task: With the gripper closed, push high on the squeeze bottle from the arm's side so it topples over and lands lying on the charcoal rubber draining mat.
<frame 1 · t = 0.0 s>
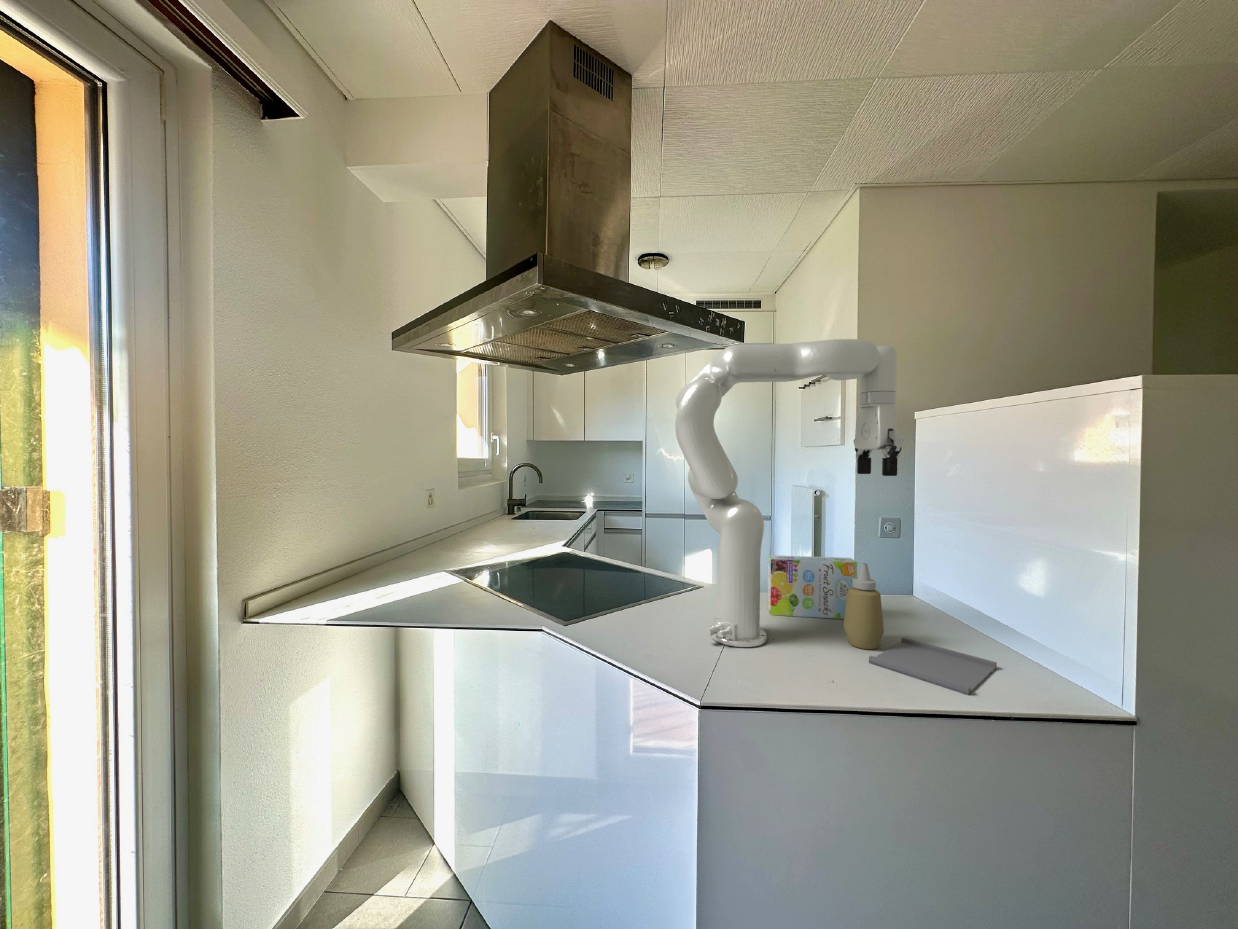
hand: (876, 474, 114), 37 cm above the countertop, tool pointing down, fingers open, 9 cm apart
snack box: (810, 615, 128), on the countertop
mat: (931, 665, 98), on the countertop
squeeze bottle: (862, 645, 108), on the countertop
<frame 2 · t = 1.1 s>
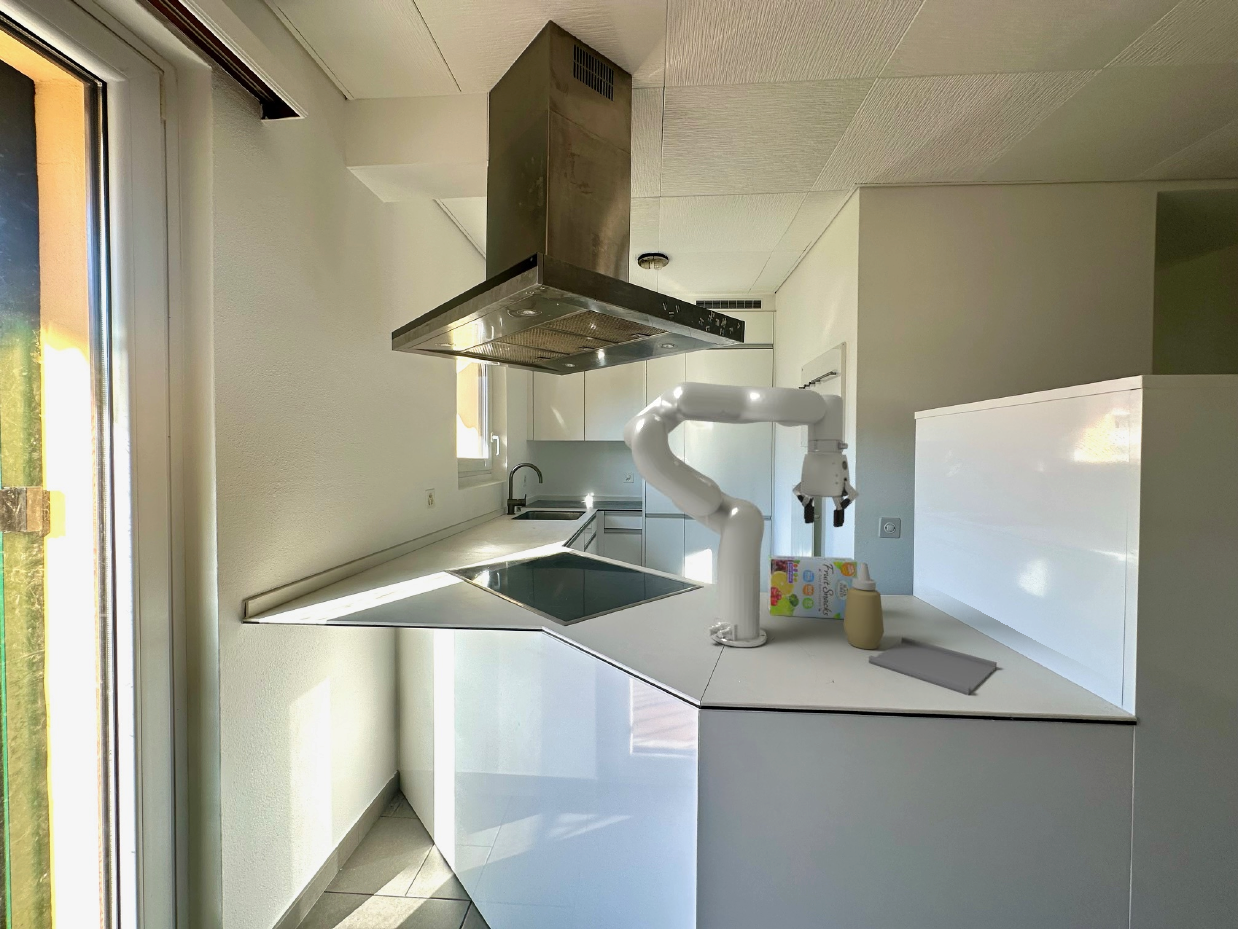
hand: (823, 524, 115), 26 cm above the countertop, tool pointing down, fingers open, 6 cm apart
nothing on the countertop moved.
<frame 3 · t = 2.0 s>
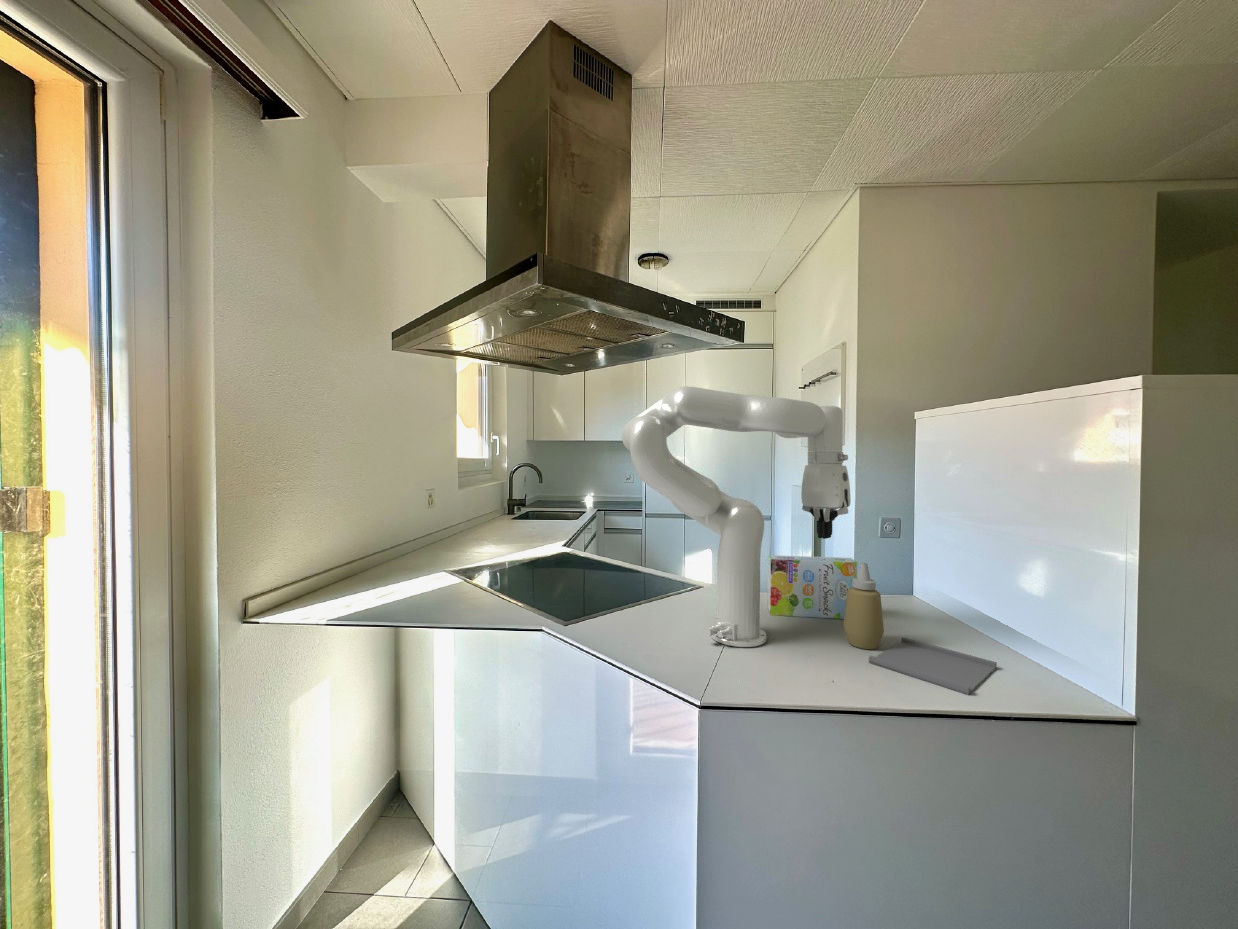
hand: (824, 537, 115), 22 cm above the countertop, tool pointing down, fingers closed
nothing on the countertop moved.
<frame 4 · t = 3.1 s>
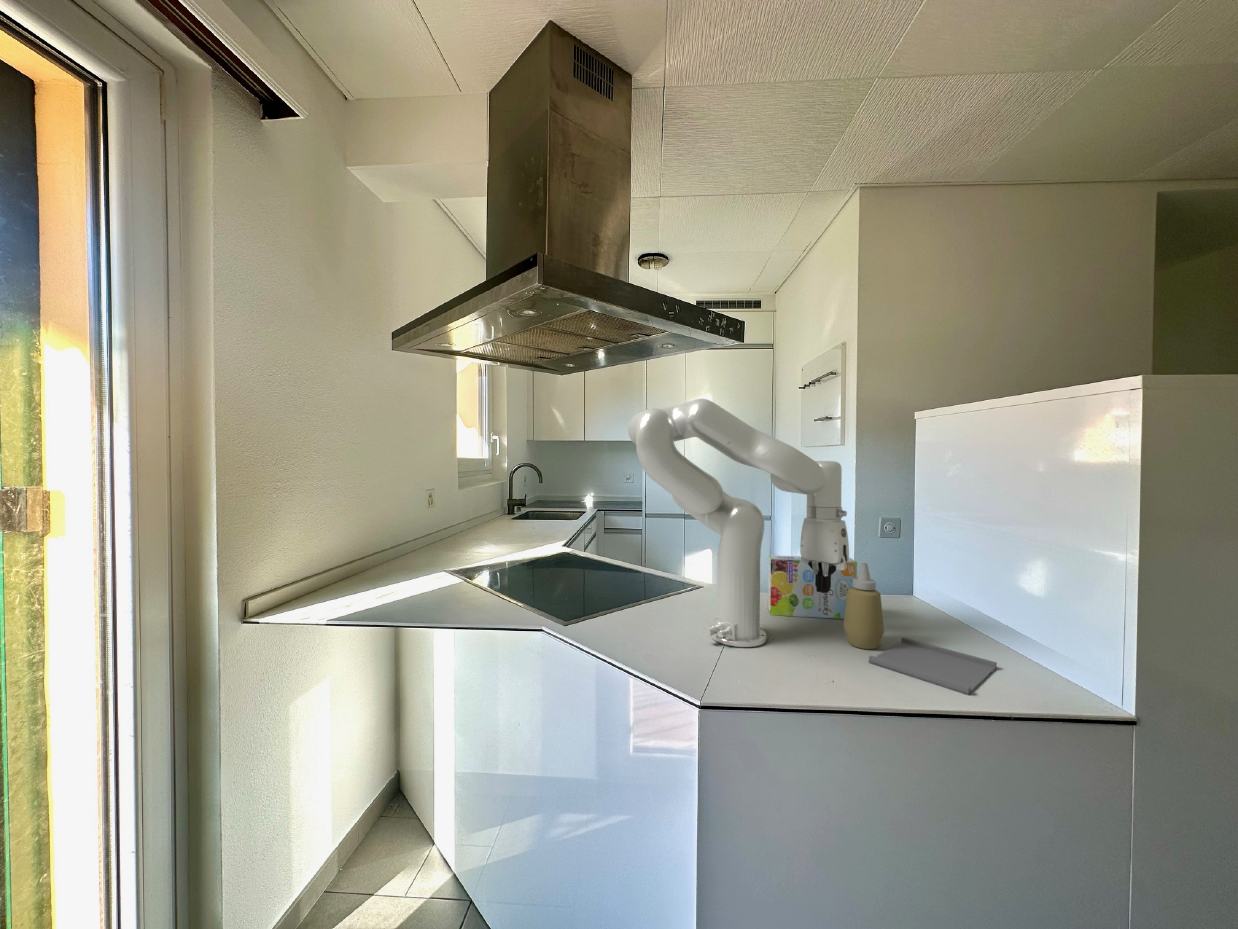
hand: (823, 591, 115), 10 cm above the countertop, tool pointing down, fingers closed
nothing on the countertop moved.
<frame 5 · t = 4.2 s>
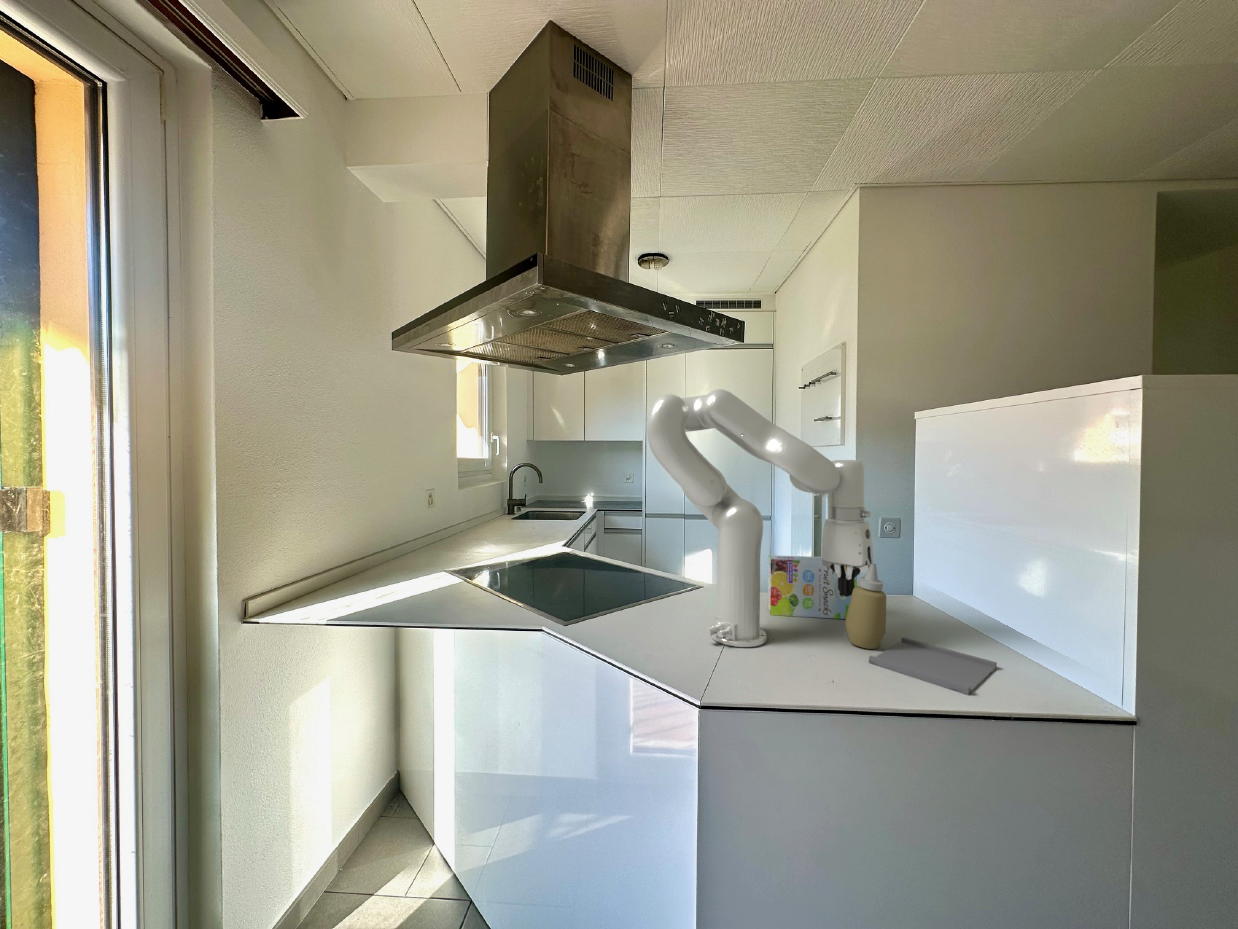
hand: (846, 594, 111), 10 cm above the countertop, tool pointing down, fingers closed
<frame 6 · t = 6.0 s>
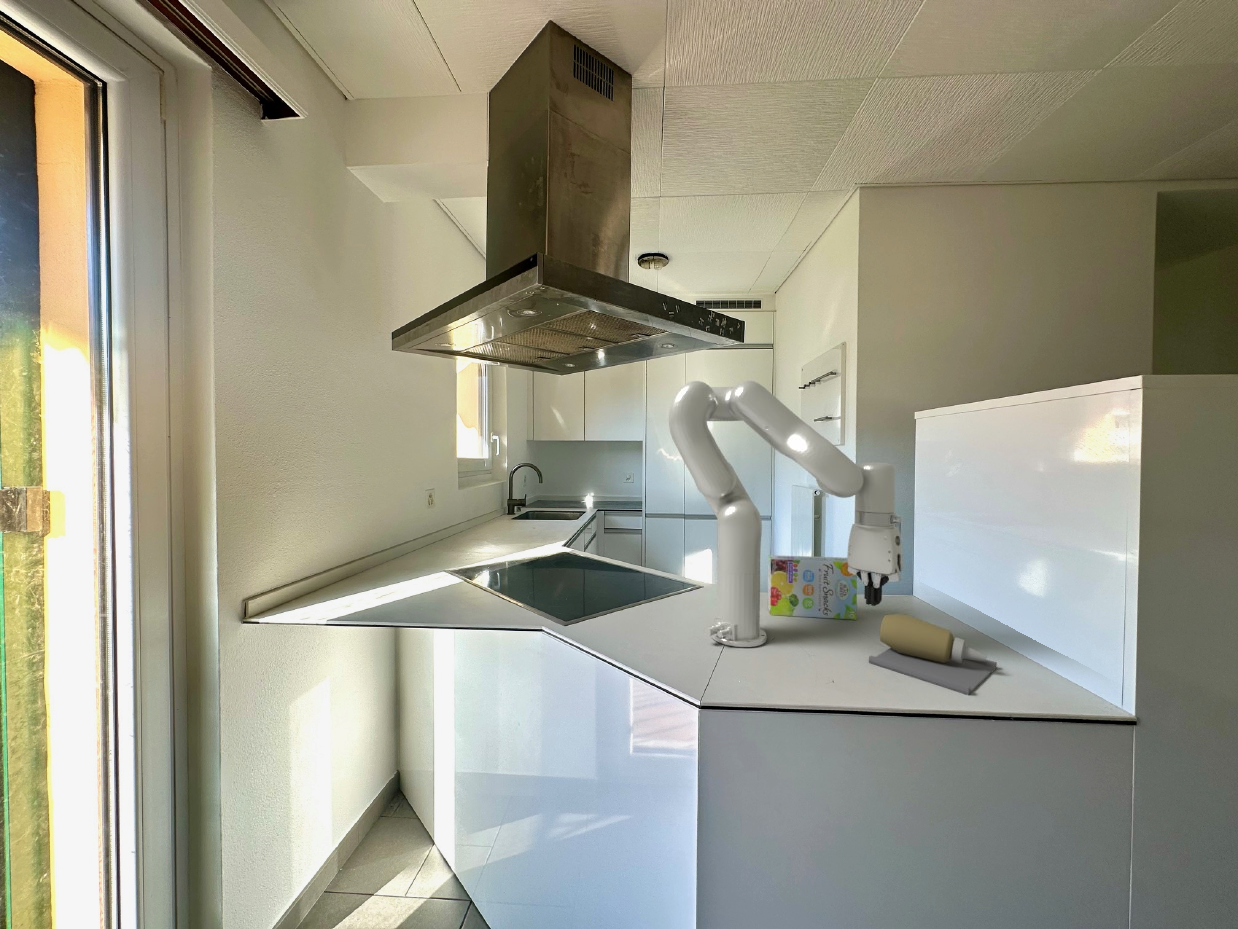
hand: (872, 603, 106), 10 cm above the countertop, tool pointing down, fingers closed
squeeze bottle: (881, 627, 106), point 5 cm above the countertop, touching mat
everything else where it was.
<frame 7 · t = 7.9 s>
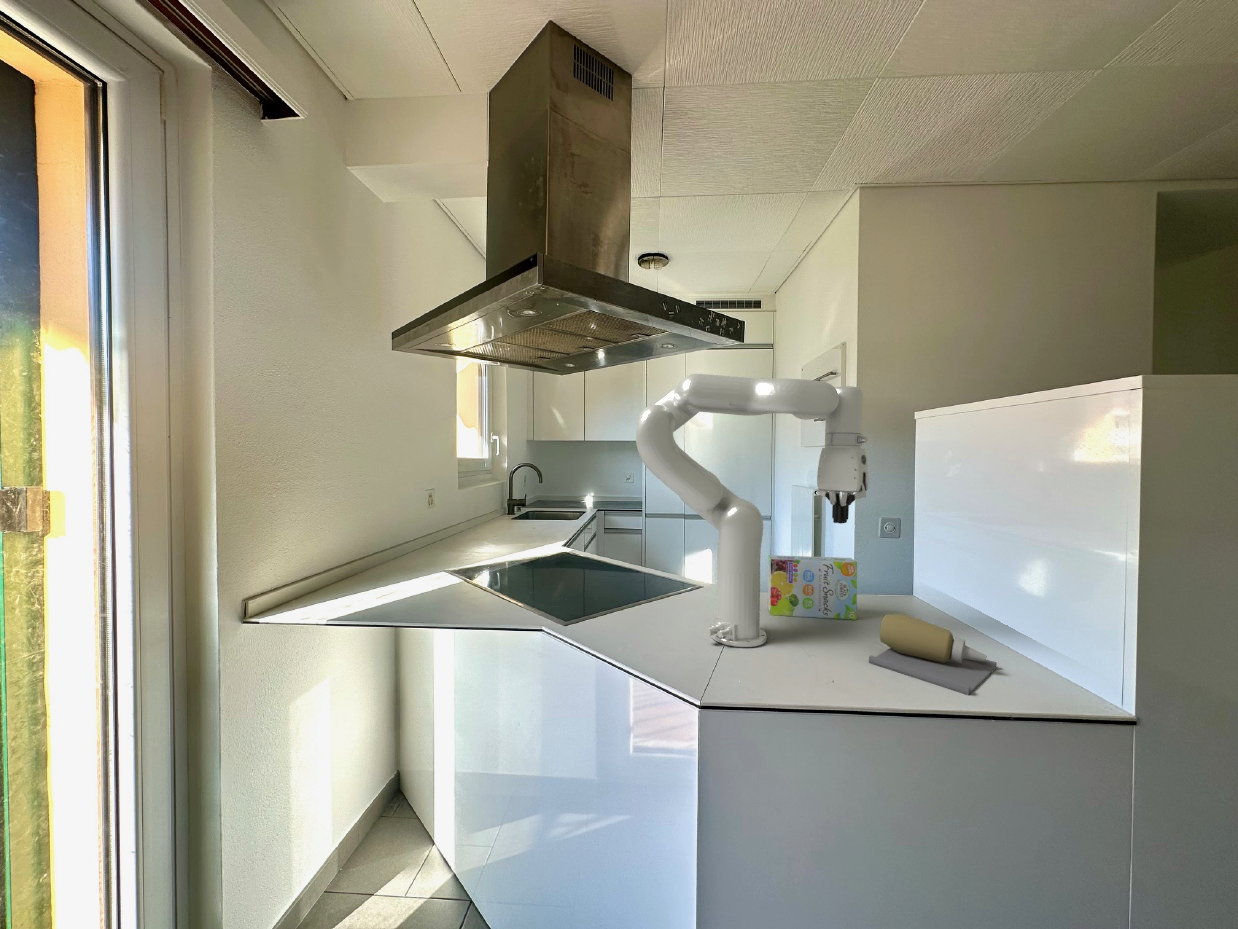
hand: (840, 522, 111), 26 cm above the countertop, tool pointing down, fingers closed
nothing on the countertop moved.
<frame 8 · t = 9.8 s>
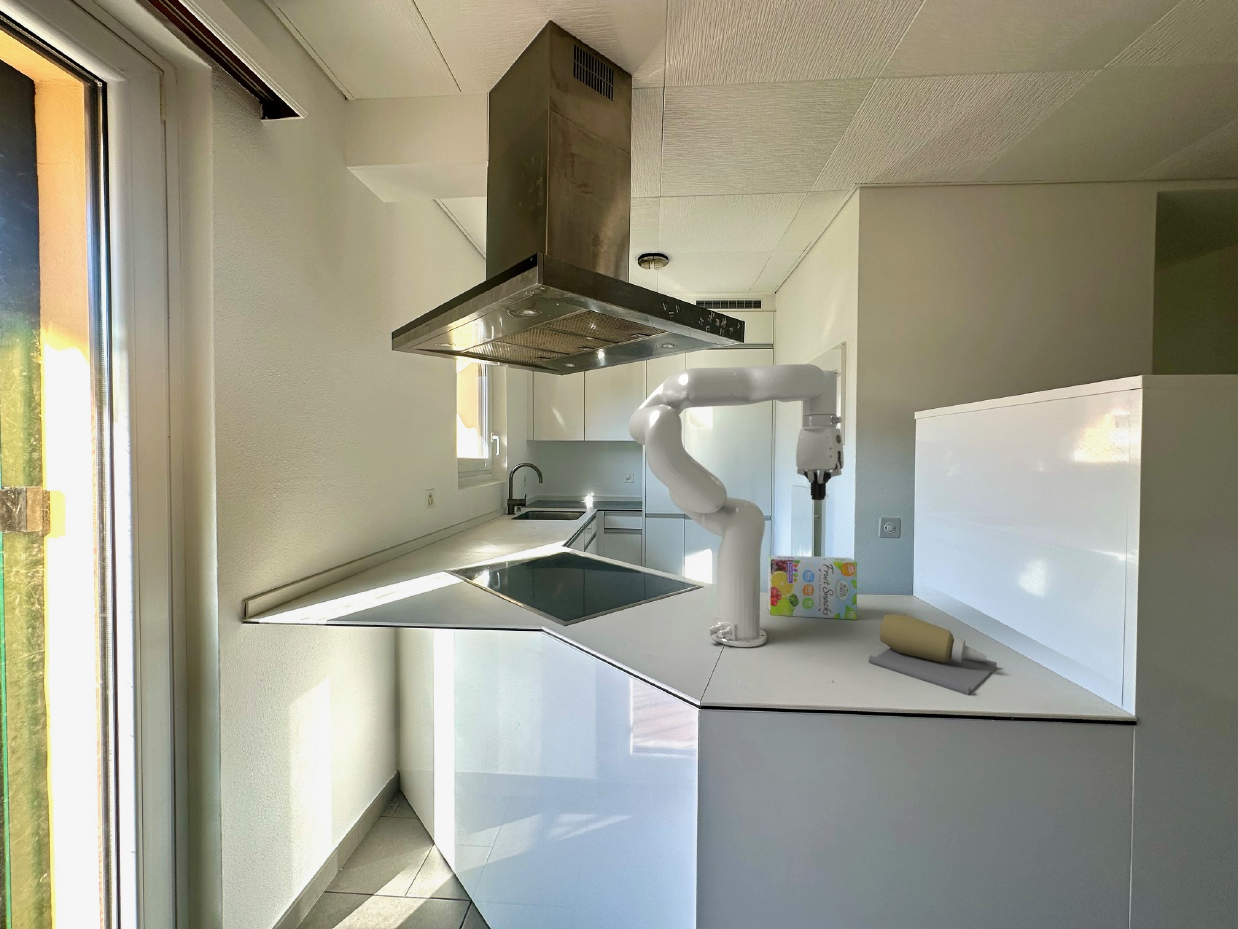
hand: (818, 499, 118), 31 cm above the countertop, tool pointing down, fingers closed
nothing on the countertop moved.
at the end: squeeze bottle tilted 95°; squeeze bottle inside the target area (8.4 cm from its centre), point 4.7 cm above the countertop; the gripper is holding nothing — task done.
